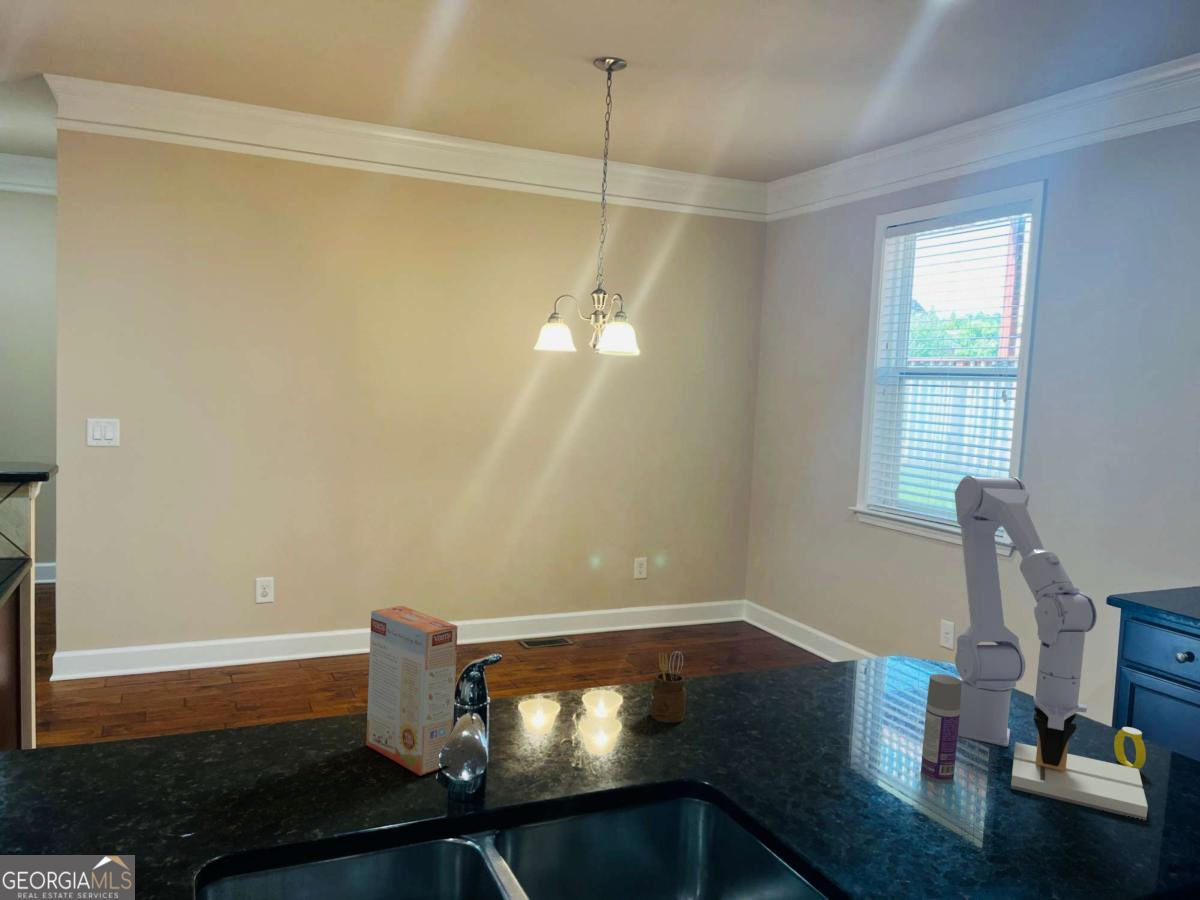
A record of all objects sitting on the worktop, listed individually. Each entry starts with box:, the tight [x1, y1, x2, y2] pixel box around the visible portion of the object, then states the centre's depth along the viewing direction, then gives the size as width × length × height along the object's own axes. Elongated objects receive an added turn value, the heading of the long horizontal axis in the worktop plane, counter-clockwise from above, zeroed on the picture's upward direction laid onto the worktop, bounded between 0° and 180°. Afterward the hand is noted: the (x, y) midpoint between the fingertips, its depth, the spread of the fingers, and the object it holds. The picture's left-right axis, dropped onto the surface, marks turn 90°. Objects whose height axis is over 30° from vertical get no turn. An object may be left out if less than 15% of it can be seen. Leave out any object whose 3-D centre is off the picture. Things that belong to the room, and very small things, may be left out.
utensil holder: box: [650, 650, 687, 724], centre depth 146 cm, size 6×6×12 cm
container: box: [920, 673, 962, 784], centre depth 129 cm, size 5×5×15 cm
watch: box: [1113, 726, 1147, 770], centre depth 137 cm, size 6×3×6 cm, turn 0°
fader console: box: [1010, 741, 1149, 821], centre depth 129 cm, size 17×14×2 cm
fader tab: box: [1036, 731, 1070, 771], centre depth 130 cm, size 4×3×7 cm
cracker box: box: [365, 605, 459, 776], centre depth 126 cm, size 14×6×21 cm, turn 47°
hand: (1050, 759), depth 131 cm, fingers closed on fader tab, 3 cm apart
